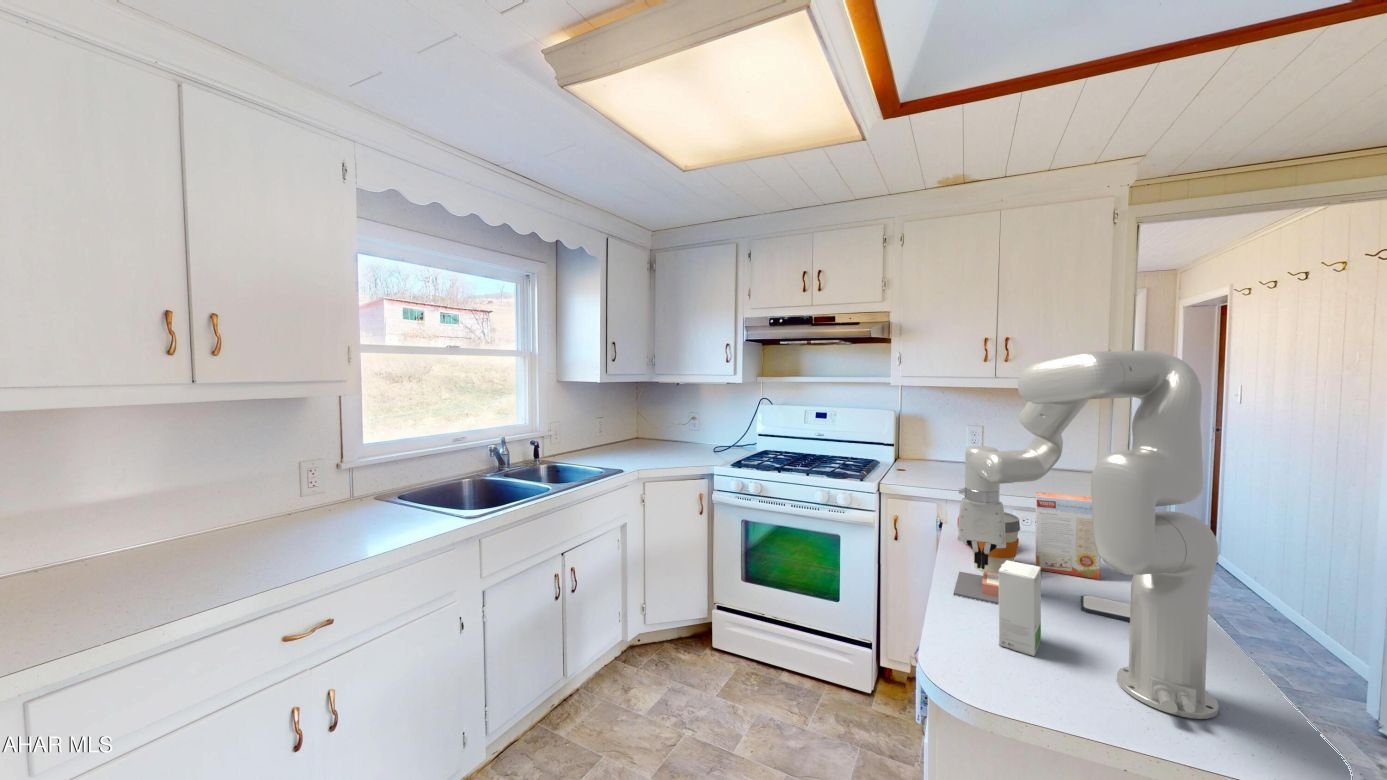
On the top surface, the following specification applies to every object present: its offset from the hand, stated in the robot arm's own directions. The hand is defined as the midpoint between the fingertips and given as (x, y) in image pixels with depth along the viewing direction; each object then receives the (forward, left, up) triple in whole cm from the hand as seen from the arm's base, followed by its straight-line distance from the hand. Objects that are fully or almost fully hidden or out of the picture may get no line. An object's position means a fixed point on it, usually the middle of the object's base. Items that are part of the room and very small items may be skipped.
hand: (981, 566), depth 126 cm
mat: (0, -2, -6) cm, 6 cm away
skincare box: (-24, -8, -6) cm, 26 cm away
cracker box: (+24, -19, -6) cm, 31 cm away
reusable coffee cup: (+16, -2, -6) cm, 17 cm away
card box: (0, 0, -4) cm, 4 cm away
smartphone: (+2, -28, -6) cm, 29 cm away
